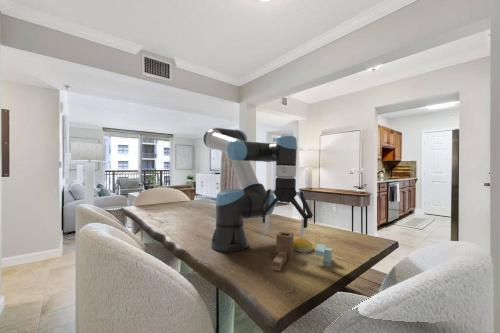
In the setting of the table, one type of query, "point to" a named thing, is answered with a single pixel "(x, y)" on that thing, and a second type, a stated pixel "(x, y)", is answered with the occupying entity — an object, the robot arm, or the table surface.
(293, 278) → the table surface
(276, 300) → the table surface
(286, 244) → the wooden step block
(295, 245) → the bread roll
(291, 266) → the table surface
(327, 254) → the keeper
